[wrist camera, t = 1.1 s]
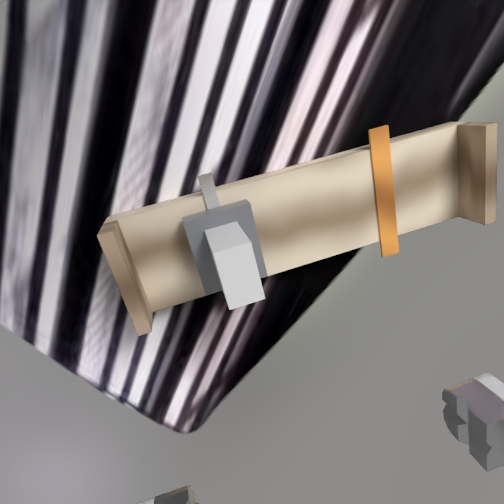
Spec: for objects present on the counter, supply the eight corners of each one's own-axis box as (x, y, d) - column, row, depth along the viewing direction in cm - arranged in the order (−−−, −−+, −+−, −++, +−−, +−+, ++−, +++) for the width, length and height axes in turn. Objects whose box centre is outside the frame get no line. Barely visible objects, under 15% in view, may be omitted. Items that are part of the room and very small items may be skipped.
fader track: (100, 198, 28) (87, 214, 24) (450, 103, 32) (498, 101, 28) (147, 319, 33) (145, 352, 28) (453, 223, 36) (495, 238, 32)
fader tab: (181, 217, 28) (186, 244, 22) (246, 199, 28) (268, 220, 22) (203, 287, 30) (213, 329, 24) (262, 269, 31) (287, 305, 25)
